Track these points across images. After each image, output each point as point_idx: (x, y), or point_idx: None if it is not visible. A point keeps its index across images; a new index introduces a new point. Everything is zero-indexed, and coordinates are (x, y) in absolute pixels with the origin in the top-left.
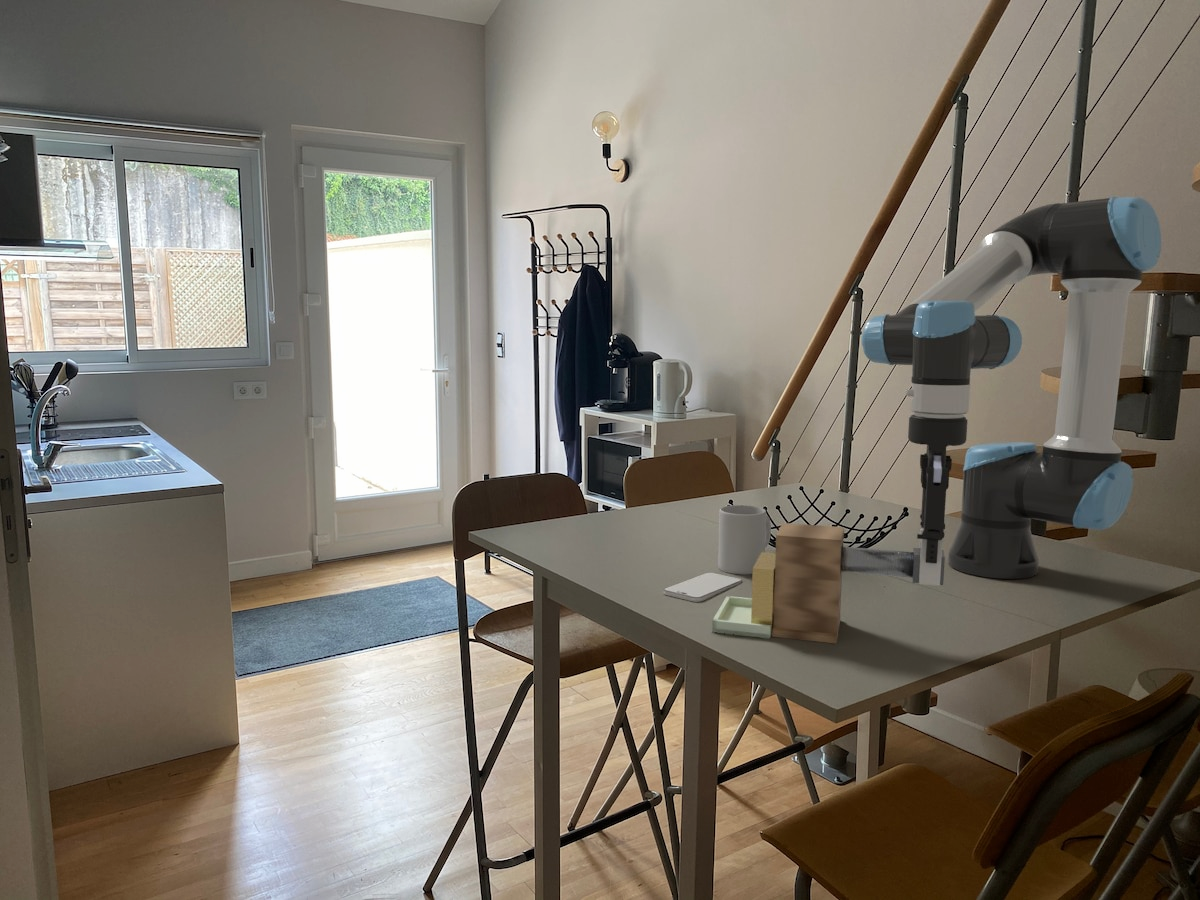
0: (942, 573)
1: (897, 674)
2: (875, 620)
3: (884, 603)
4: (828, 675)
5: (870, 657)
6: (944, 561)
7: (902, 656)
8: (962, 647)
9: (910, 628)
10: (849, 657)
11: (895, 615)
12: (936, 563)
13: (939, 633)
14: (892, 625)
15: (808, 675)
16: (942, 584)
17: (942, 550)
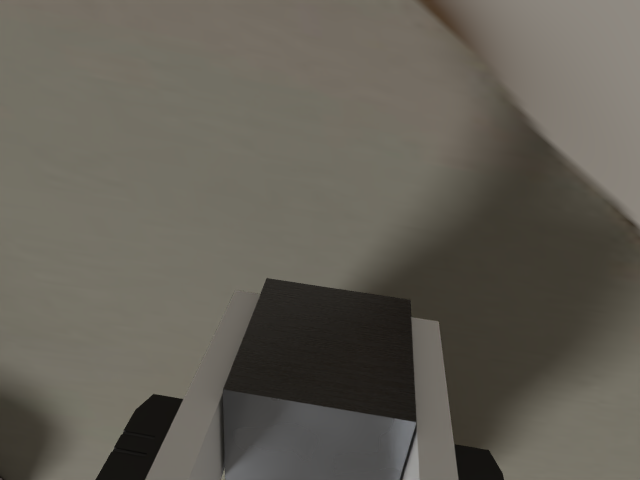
0: (410, 347)
1: (625, 312)
2: (212, 298)
3: (53, 256)
4: (618, 436)
5: (501, 349)
6: (414, 398)
7: (489, 281)
8: (391, 98)
9: (250, 224)
10: (503, 387)
11: (148, 244)
12: (488, 451)
13: (270, 148)
14: (239, 265)
15: (615, 464)
16: (409, 305)
17: (236, 395)
